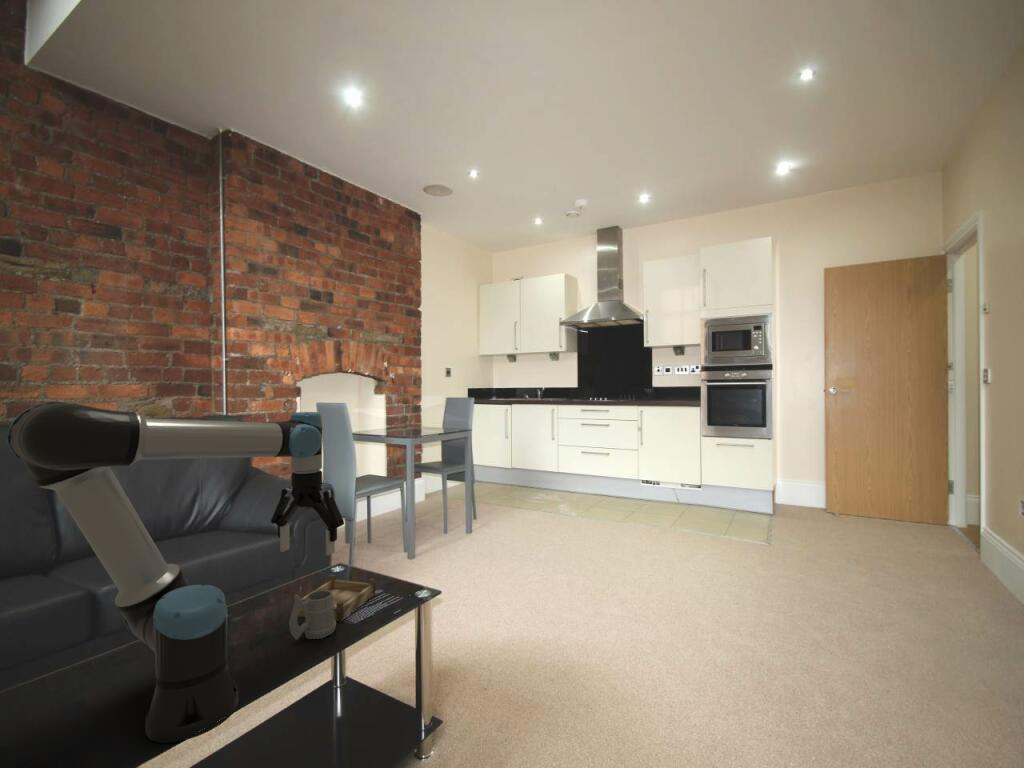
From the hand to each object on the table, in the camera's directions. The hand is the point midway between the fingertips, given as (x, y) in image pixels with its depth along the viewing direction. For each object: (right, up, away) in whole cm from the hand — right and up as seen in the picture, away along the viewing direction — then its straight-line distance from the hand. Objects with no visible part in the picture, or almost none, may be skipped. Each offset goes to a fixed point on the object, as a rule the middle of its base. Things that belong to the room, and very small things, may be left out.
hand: (307, 552), depth 129 cm
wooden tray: (+3, -20, +13) cm, 24 cm away
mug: (+3, -20, -4) cm, 21 cm away
